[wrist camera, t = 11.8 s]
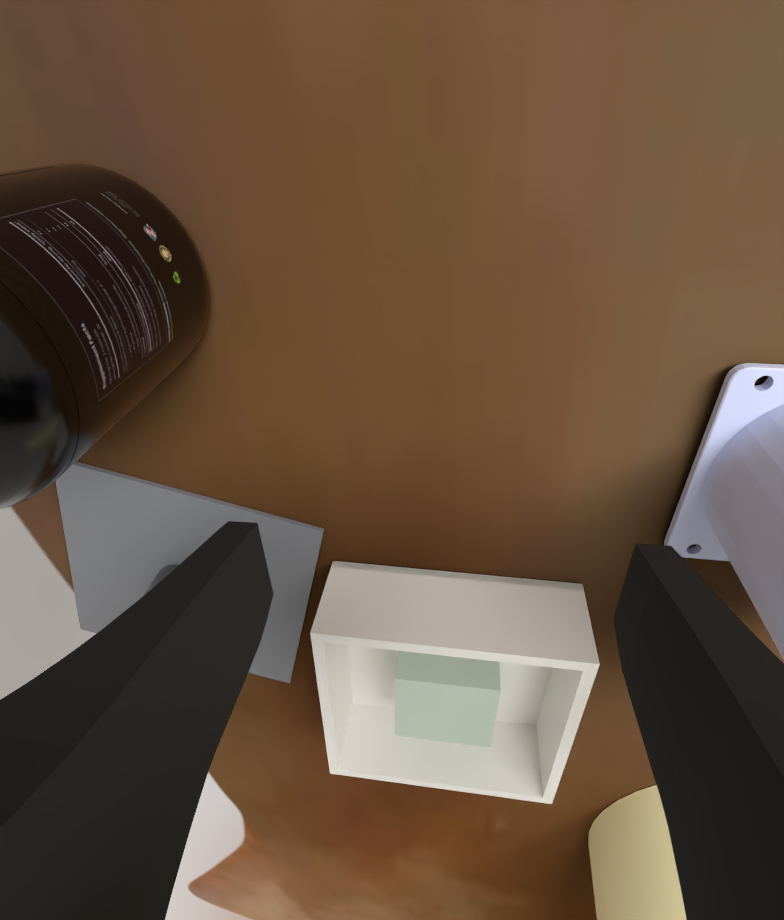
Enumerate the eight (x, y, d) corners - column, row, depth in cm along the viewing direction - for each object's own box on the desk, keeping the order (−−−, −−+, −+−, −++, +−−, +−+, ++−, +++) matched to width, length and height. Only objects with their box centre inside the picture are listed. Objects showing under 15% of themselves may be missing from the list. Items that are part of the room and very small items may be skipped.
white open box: (582, 583, 23) (599, 664, 20) (543, 724, 29) (551, 804, 26) (333, 560, 24) (310, 632, 21) (345, 700, 30) (330, 773, 27)
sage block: (498, 632, 25) (500, 690, 22) (489, 689, 27) (490, 747, 25) (402, 622, 25) (394, 678, 23) (401, 679, 28) (394, 735, 26)
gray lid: (327, 519, 24) (297, 603, 20) (293, 670, 31) (266, 755, 27) (63, 448, 24) (-20, 519, 20) (89, 617, 30) (31, 694, 27)
